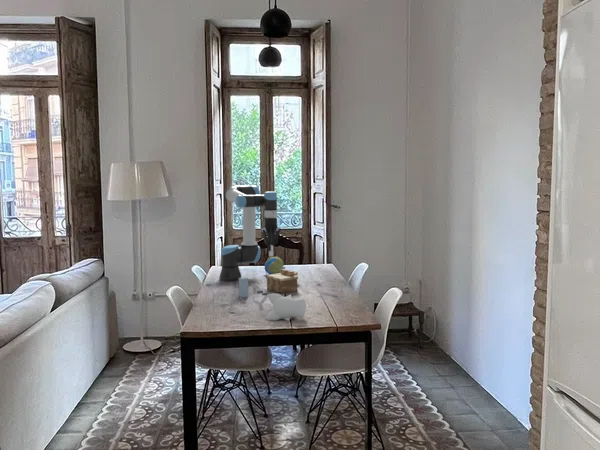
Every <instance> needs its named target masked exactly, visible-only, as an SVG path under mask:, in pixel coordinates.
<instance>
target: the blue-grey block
mask: <svg viewBox="0 0 600 450" xmlns="http://www.w3.org/2000/svg"><path fill="white" fill-rule="evenodd" d="M238 296H239V298H249V278H248V277H245V276H243V277H242V276H241V278H239V280H238Z"/></svg>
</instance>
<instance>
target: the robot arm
mask: <svg viewBox="0 0 600 450" xmlns="http://www.w3.org/2000/svg"><path fill="white" fill-rule="evenodd" d="M224 197H225V200H227V201H228V202H229V203H235V205H236V207H237V208H242V242H241V243H240V246H239V244H231V245H225V246H224V247H222V248H221V251H220V252H221V253H220V255H221V271H220V273H219V277H218V279H220V280H219V281H221V280H223V282H235V280H237V281H239V278H242V273H241V270H240V267H239V265H240V264H241V265H242V264H253V263H258V262H259V261H260V258H261V252H262V251H261V247H260V246H259V245H258V242H257V241H256V208H264V227H263V228H261V229H260V232H261V234H262V237H263V241H264V245H266V246H267V251H268V256H269V257H274V251H275V246H276V245H278V241H279V237H280V232H281V230H282V229H281V228H280V227H278V218H277V217H278V212H277V211H278V195H277V192H276V191H265V192H264V194H261V192H260V189H259V187H258V186H257V185H255V184H254V185H253V184H247V185H246V184H244V185H243V184H242V185H241V184H239V185H238V184H237V185H232V186H229V187H228V188H226V190H225V194H224Z"/></svg>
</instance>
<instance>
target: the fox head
mask: <svg viewBox="0 0 600 450" xmlns="http://www.w3.org/2000/svg"><path fill="white" fill-rule="evenodd" d="M266 297H267V298H268V299H269V301H270V302H271V303H272V310H271V311H270V312H269V313H268V314H267V315H266V316H265V317H264V320H268V321H279V320H285V321H287V322H289V321H290V320H291V318H299V319H303V318H305V314H306V311H307V310H306V309H307V308H306V307H307V306H306V305H307V304H306V299H305V298H303V297H302V298H301V297H300V298H292V293H291V294H290V293H289V295H287V296H283V295H282V294H279V293H269V294H267V295H266Z"/></svg>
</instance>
